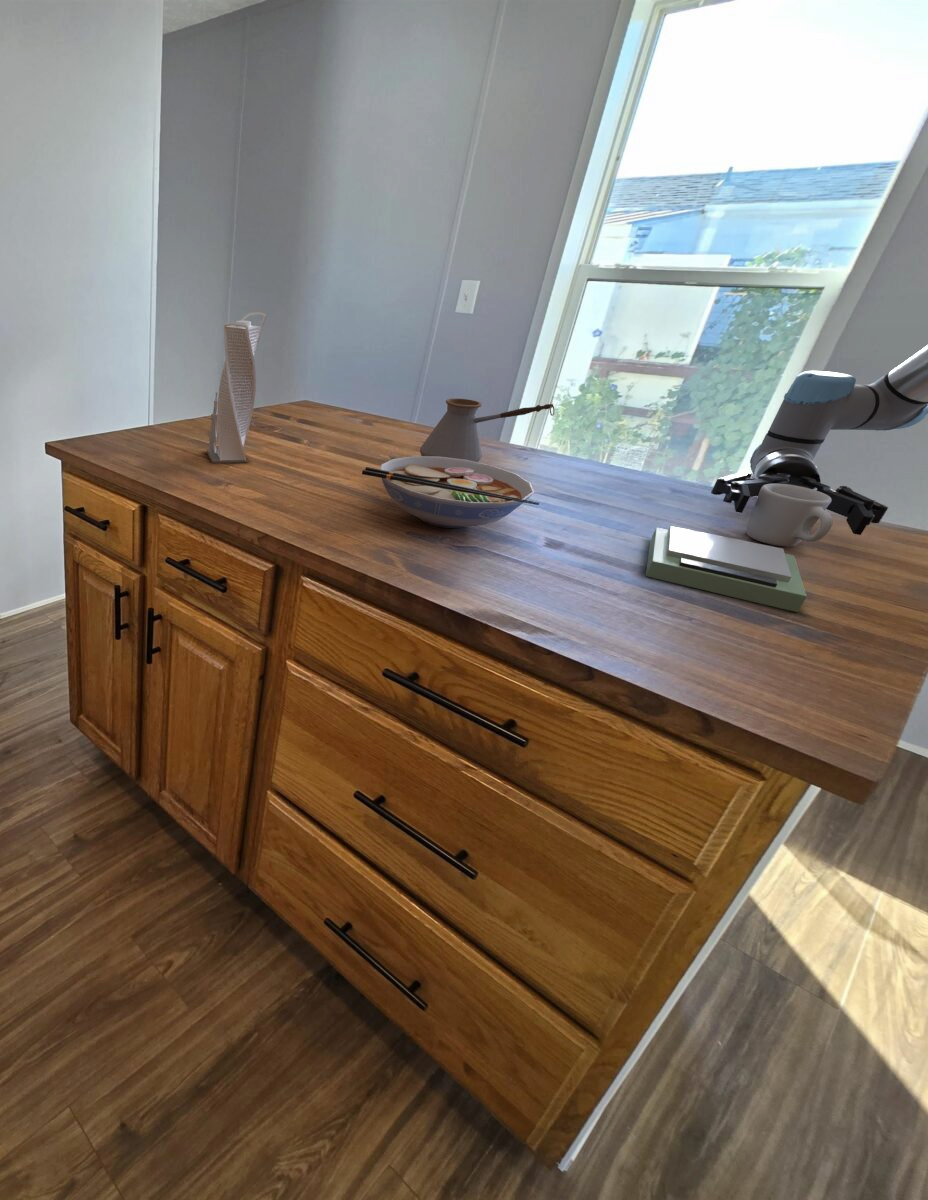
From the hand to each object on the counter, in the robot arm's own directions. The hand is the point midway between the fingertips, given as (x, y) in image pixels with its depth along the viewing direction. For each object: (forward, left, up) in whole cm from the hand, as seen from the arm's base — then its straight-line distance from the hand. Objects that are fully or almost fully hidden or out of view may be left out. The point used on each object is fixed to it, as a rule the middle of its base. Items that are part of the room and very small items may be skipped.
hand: (800, 514), depth 96 cm
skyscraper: (+88, +13, -6) cm, 89 cm away
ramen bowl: (+44, +20, -6) cm, 49 cm away
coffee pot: (+46, -10, -6) cm, 48 cm away
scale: (+8, +16, -6) cm, 19 cm away
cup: (0, -3, -6) cm, 7 cm away
